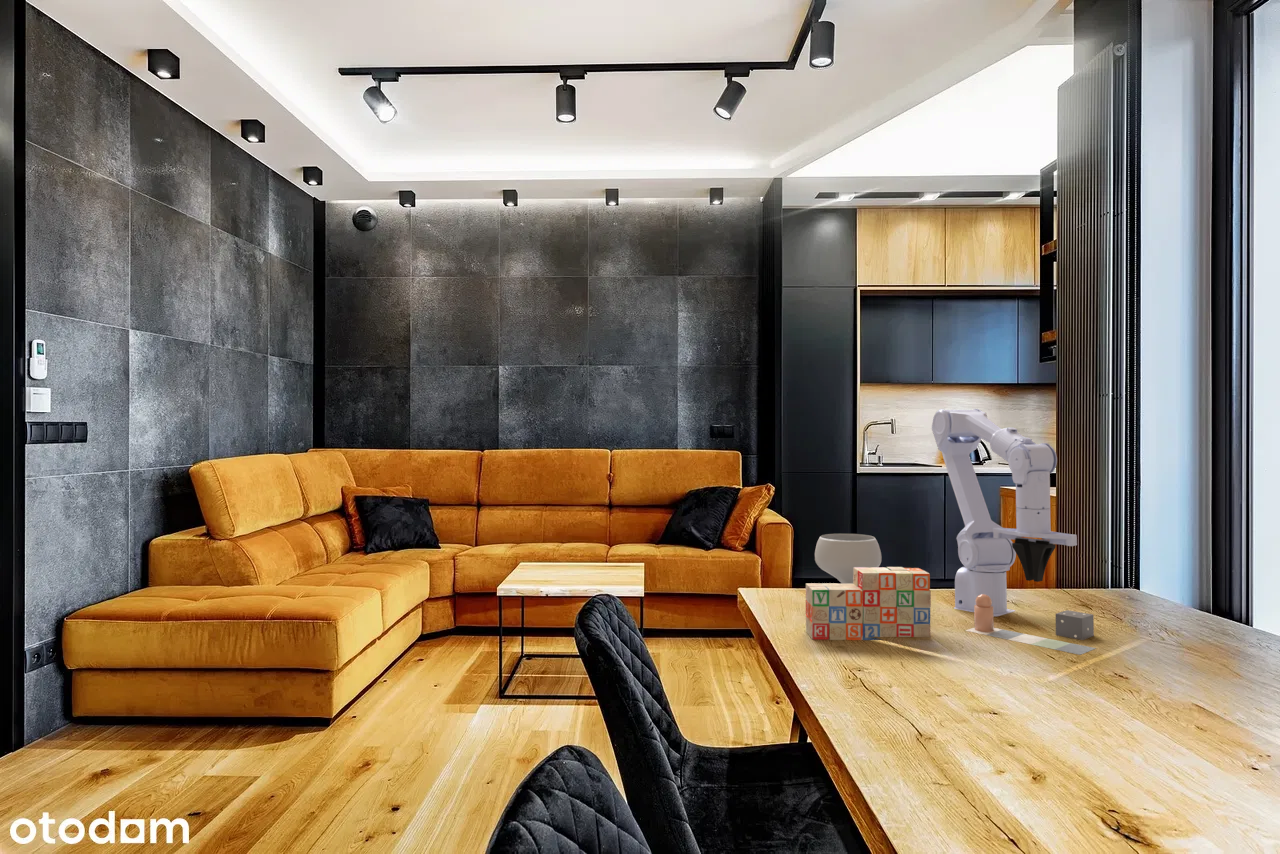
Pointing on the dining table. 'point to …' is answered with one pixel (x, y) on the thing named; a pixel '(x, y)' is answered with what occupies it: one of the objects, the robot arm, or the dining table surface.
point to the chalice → (846, 554)
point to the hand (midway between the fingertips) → (1034, 580)
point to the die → (1074, 625)
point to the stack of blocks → (870, 605)
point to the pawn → (983, 614)
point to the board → (1036, 641)
